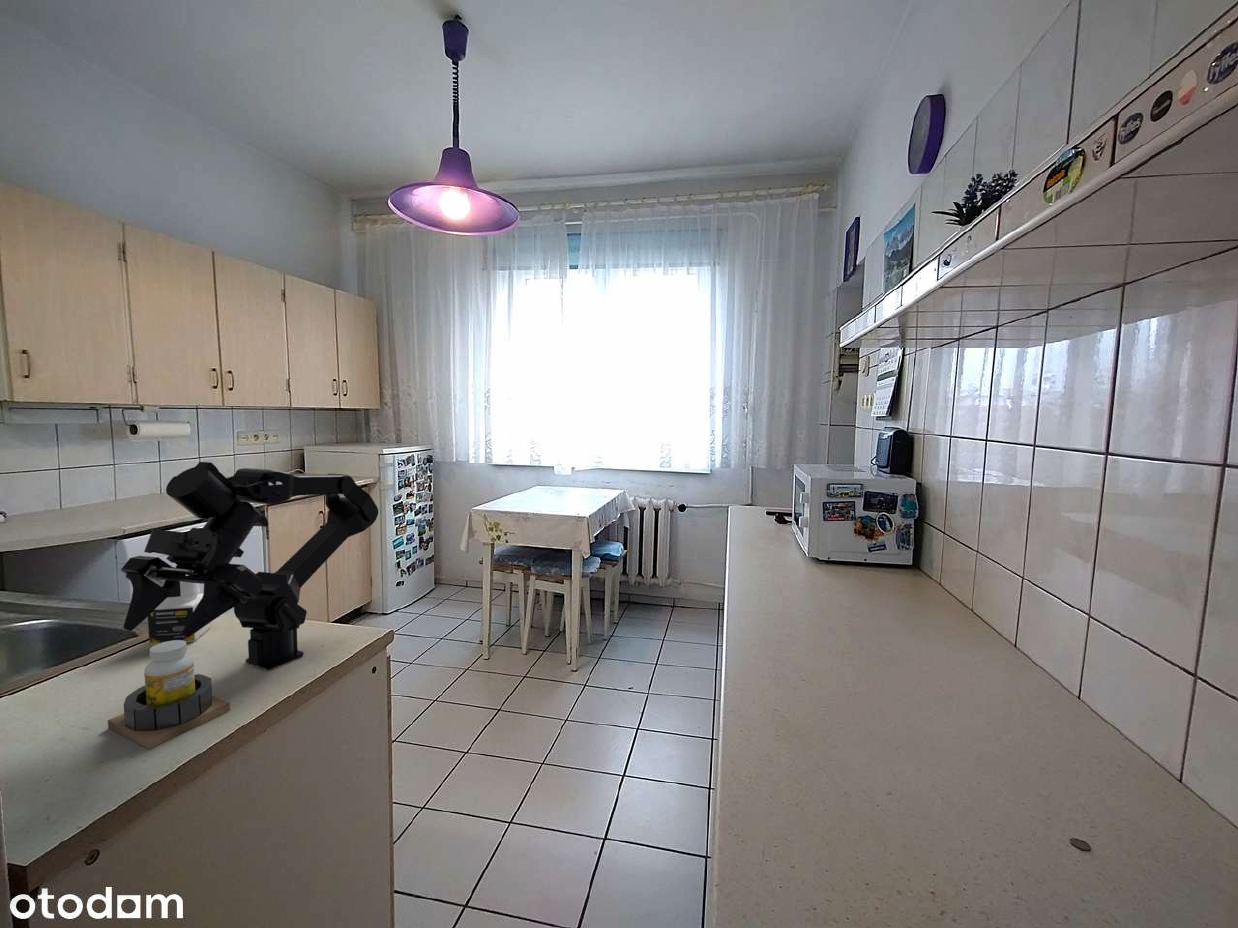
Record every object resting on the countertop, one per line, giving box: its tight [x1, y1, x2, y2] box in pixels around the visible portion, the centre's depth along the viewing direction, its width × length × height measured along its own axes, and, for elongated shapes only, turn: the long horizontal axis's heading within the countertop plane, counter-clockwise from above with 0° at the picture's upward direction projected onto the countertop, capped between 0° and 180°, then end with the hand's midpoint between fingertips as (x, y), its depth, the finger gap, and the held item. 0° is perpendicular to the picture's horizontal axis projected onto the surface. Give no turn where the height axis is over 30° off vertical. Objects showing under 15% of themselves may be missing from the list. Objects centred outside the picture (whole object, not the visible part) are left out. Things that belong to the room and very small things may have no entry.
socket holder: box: [107, 673, 231, 750], centre depth 76 cm, size 10×10×4 cm
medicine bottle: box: [147, 575, 212, 646], centre depth 102 cm, size 7×7×12 cm
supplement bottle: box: [144, 640, 195, 705], centre depth 76 cm, size 5×5×10 cm
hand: (155, 632), depth 74 cm, fingers open, 9 cm apart
